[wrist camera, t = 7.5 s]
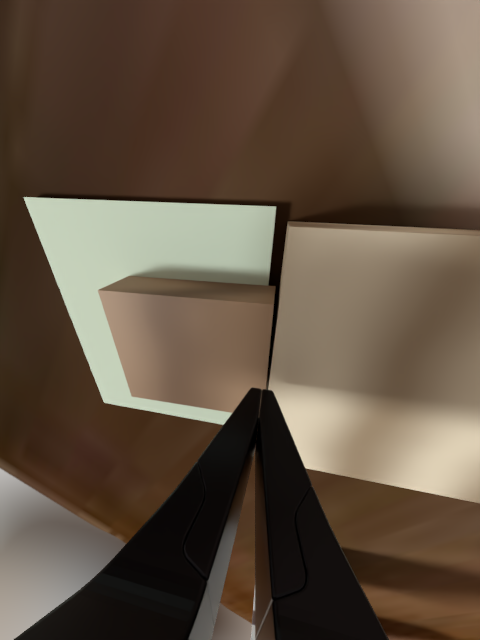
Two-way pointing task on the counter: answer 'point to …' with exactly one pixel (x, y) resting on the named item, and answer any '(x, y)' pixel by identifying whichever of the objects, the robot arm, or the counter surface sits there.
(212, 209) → the sage mat
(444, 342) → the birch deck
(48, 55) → the counter surface
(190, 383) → the walnut tile
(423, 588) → the counter surface
